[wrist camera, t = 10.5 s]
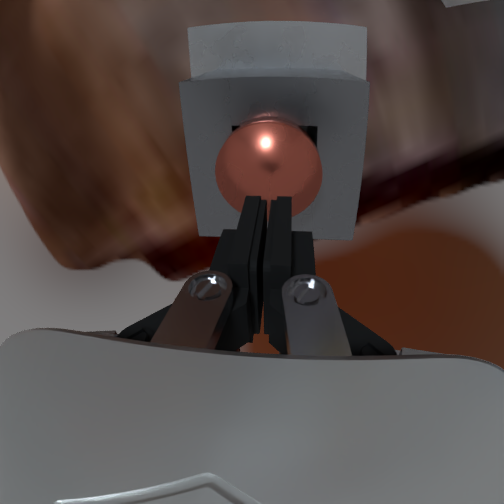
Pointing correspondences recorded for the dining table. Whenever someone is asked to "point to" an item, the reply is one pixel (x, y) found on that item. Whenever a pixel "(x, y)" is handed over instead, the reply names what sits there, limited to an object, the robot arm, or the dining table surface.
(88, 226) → the dining table surface
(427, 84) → the dining table surface
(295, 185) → the pin
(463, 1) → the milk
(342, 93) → the receiver
